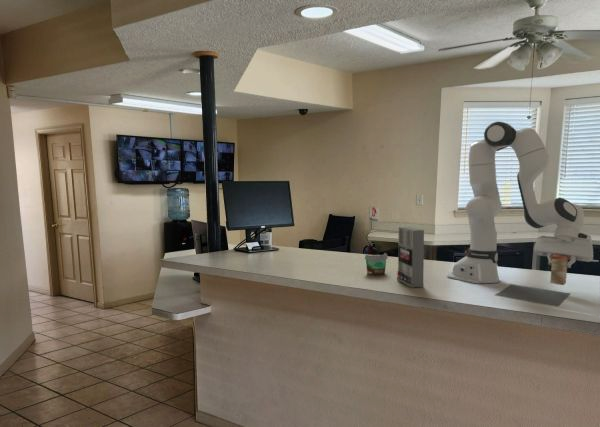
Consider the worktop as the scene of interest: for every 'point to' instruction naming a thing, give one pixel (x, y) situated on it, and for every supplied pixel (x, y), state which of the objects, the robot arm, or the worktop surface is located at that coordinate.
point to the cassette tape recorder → (410, 256)
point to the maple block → (559, 269)
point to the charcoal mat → (534, 295)
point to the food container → (376, 264)
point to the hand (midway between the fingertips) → (559, 265)
